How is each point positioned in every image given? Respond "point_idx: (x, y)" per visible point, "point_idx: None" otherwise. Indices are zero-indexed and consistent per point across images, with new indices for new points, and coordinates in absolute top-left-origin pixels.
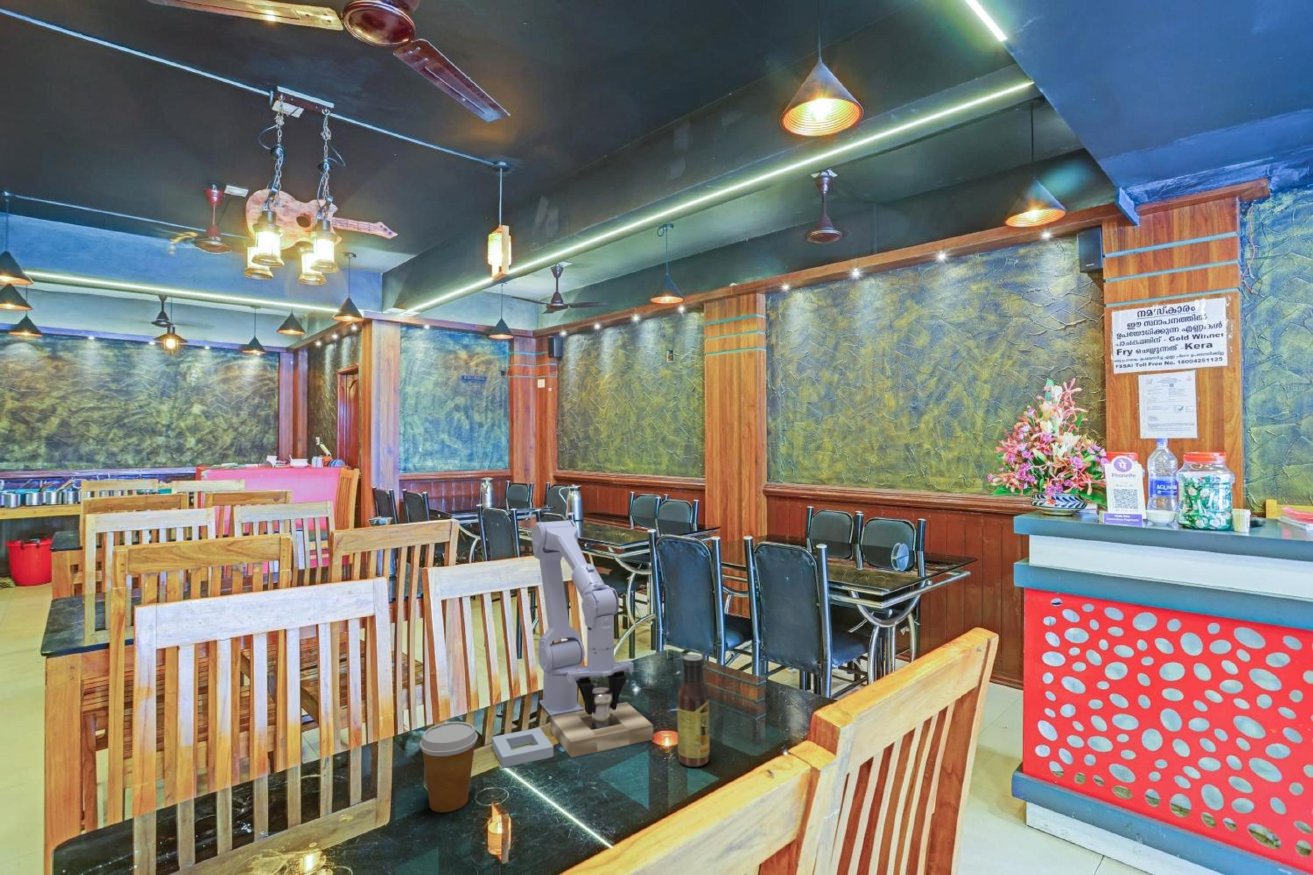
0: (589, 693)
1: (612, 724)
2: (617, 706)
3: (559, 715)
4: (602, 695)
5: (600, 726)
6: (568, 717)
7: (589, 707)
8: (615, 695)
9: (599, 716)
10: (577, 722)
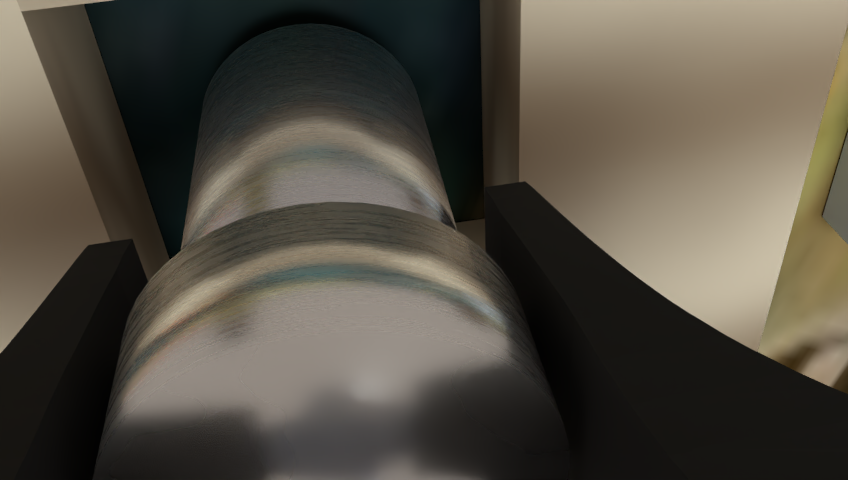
0: (696, 380)
1: (150, 236)
2: None
3: None
4: (371, 342)
5: (349, 64)
6: None
7: (566, 226)
8: (48, 387)
9: (375, 135)
10: (585, 212)
